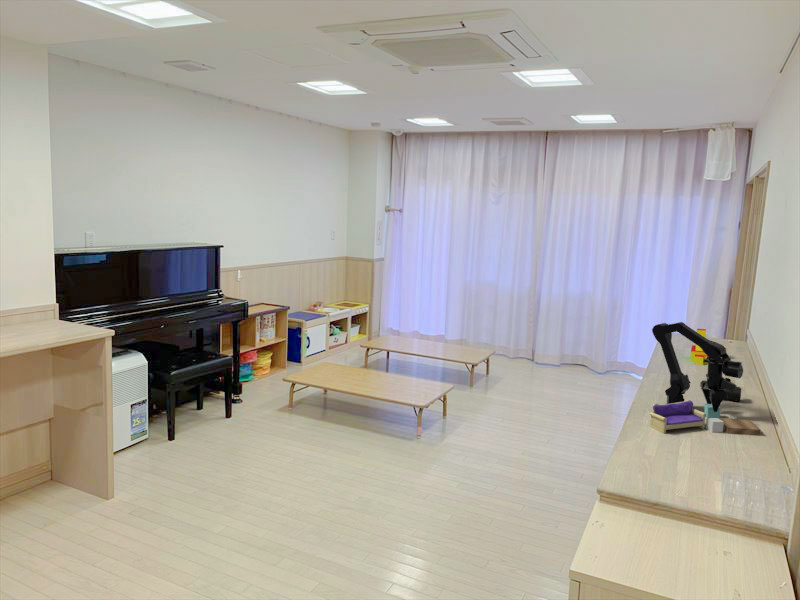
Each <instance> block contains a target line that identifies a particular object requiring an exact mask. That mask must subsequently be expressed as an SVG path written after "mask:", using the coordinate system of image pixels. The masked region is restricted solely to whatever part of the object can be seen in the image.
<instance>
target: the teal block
mask: <svg viewBox="0 0 800 600" xmlns="http://www.w3.org/2000/svg"><path fill="white" fill-rule="evenodd" d="M703 413H706V417H705V418H706V419H707V418H718V419H719V418H721V407H720V406H719V408H718V411H717V412H714V410H713V407H712V404H707V403H704V410H703Z"/></svg>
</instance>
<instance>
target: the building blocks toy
mask: <svg viewBox="0 0 800 600" xmlns="http://www.w3.org/2000/svg"><path fill="white" fill-rule="evenodd" d="M706 331H707V329H706V328H697V329H696V332H697V333H699V334H700V335H702V336H703V337H705V338H706ZM725 349H726V350H727V347H725ZM707 357H708V356H707V355H706V354H705V353H704V352H703V350H702V349H701V348H700V347H699V346H698V345H696V344H695V345H693V344H692V345H691V349H690V357H689V362H690V363H691V362H692V363H693V364H694V365H697V366H698V365H700V366H704V365H707V366H708V363H707V362H703V360H705V359H706V358H707ZM721 358H722V357H721Z"/></svg>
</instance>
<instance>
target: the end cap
mask: <svg viewBox="0 0 800 600" xmlns="http://www.w3.org/2000/svg"><path fill="white" fill-rule="evenodd" d="M719 390H721V389H719ZM724 391H725V392H726V393H727V394H728V399H726V400H725V401H730V402H736V403H737V402H738V403H740V402H741V400H742V399H741V397H742V388H741V387H740V386H736V388H735V390H734V392H731V391H730V390H727V389H725V388H724Z"/></svg>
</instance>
